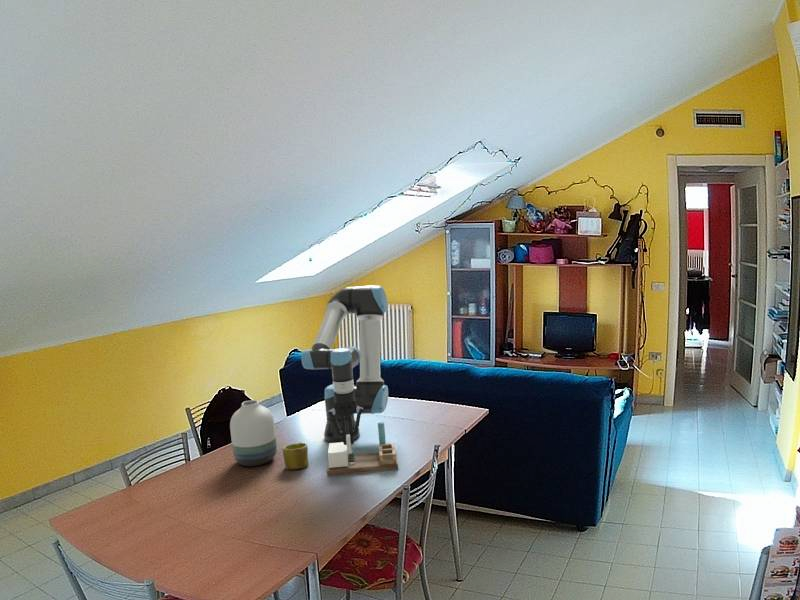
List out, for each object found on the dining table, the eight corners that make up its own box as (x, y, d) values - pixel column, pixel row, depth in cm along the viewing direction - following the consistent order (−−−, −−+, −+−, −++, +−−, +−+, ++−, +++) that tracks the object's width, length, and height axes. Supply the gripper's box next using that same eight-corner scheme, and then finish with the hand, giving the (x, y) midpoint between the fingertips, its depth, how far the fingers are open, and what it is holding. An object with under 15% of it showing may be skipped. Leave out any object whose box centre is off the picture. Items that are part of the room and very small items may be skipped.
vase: (226, 463, 243) (219, 405, 240) (261, 449, 255) (255, 393, 252) (250, 473, 232) (243, 412, 228) (286, 458, 244) (280, 399, 241)
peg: (380, 451, 244) (377, 422, 242) (386, 451, 244) (384, 422, 242) (380, 454, 241) (377, 424, 240) (386, 453, 241) (384, 424, 240)
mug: (306, 467, 228) (298, 441, 230) (283, 475, 231) (275, 449, 232) (319, 461, 240) (312, 436, 241) (297, 468, 242) (289, 443, 244)
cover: (330, 457, 235) (329, 443, 235) (348, 455, 236) (347, 441, 235) (329, 467, 225) (327, 453, 225) (348, 466, 226) (346, 451, 225)
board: (329, 462, 237) (328, 448, 236) (396, 455, 238) (395, 442, 238) (327, 476, 224) (325, 461, 224) (398, 469, 225) (397, 455, 225)
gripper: (325, 395, 221) (331, 458, 224) (361, 392, 222) (367, 454, 225) (326, 389, 228) (332, 450, 232) (361, 386, 229) (366, 447, 232)
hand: (349, 452), depth 228 cm, fingers closed
